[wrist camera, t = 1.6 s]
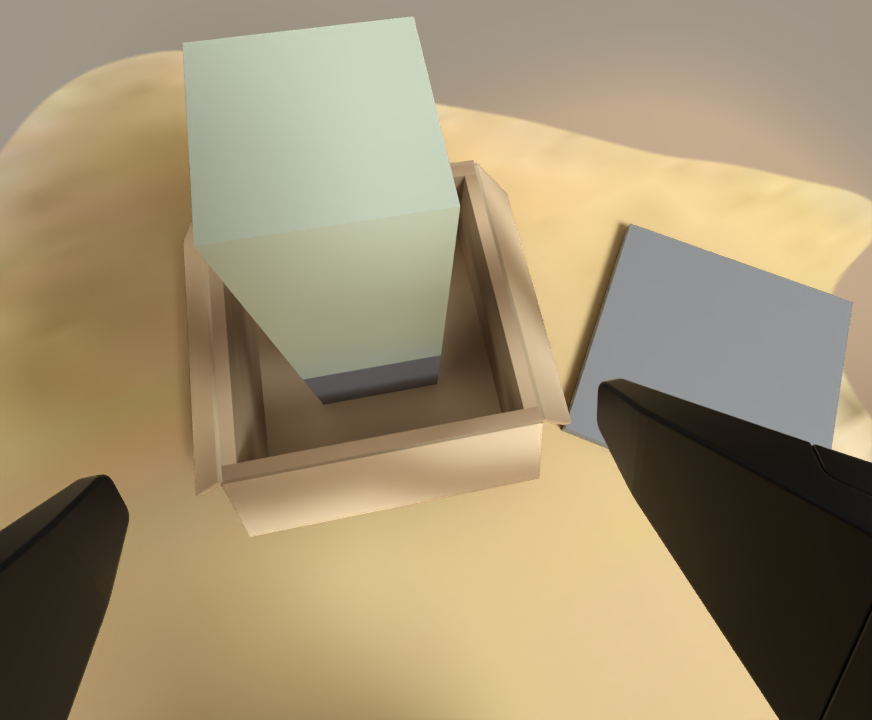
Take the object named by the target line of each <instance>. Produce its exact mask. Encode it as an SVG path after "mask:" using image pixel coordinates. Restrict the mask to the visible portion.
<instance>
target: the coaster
mask: <svg viewBox="0 0 872 720" xmlns="http://www.w3.org/2000/svg"><path fill="white" fill-rule="evenodd" d="M852 304H853V302H851V301H848V300H845V299H842V298H839V297H837V296H834V295H831V294H828V293H825V292H823V291H820V290H817V289H814V288H811V287H808V286H806V285H803V284H800V283H797V282H794V281H791V280H789V279H786V278H783V277H780V276H777V275H774V274H772V273H769V272H766V271H763V270H760V269H757V268H755V267H752V266H749V265H746V264H743V263H740V262H738V261H735V260H732V259H729V258H726V257H724V256H721V255H718V254H715V253H712V252H709V251H707V250H704V249H701V248H698V247H695V246H692V245H690V244H687V243H684V242H681V241H678V240H675V239H673V238H670V237H667V236H664V235H661V234H658V233H656V232H653V231H650V230H647V229H644V228H641V227H639V226H636V225H633V224H630V226H629V227H628V228H627V230H626V232H625V235H624V238H623V241H622V244H621V248H620V251H619V254H618V257H617V260H616V263H615V266H614V269H613V272H612V275H611V279H610V282H609V285H608V288H607V291H606V294H605V297H604V300H603V303H602V306H601V310H600V313H599V316H598V319H597V322H596V325H595V328H594V331H593V334H592V337H591V340H590V344H589V347H588V350H587V353H586V356H585V359H584V362H583V365H582V368H581V371H580V375H579V378H578V381H577V384H576V387H575V390H574V393H573V396H572V399H571V402H570V406H569V409H568V412H569V415H570V419H571V422H572V423H570V424H566V425H563V427H562V431H565V432H567V433H570V434H572V435H575V436H578V437H580V438H583V439H585V440H588V441H590V442H593V443H595V444H598V445H600V446H603V447H605V448H608V446H607V444H606V442H605V440H604V438H603V436H602V434H601V432H600V430H599V428H598V424H597V397H598V387H599V384H600V383H601V382H603V381H607V380H612V379H618V378H622V379H625V380H628V381H631V382H634V383H637V384H640V385H643V386H646V387H649V388H652V389H655V390H658V391H661V392H664V393H666V394H669V395H672V396H675V397H678V398H681V399H684V400H687V401H690V402H693V403H696V404H699V405H702V406H705V407H708V408H711V409H714V410H716V411H719V412H722V413H725V414H728V415H731V416H734V417H737V418H740V419H743V420H746V421H749V422H752V423H755V424H758V425H761V426H764V427H766V428H769V429H772V430H775V431H778V432H781V433H784V434H787V435H790V436H793V437H796V438H799V439H802V440H805V441H808V442H810V443H811V445H814V444H817V445H820V446H823V447H826V448H829V449H831V448H832V441H833V434H834V427H835V420H836V414H837V407H838V400H839V393H840V386H841V379H842V372H843V366H844V359H845V352H846V345H847V338H848V331H849V324H850V317H851V310H852ZM608 449H609V448H608Z"/></svg>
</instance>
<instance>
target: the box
mask: <svg viewBox="0 0 872 720" xmlns="http://www.w3.org/2000/svg"><path fill="white" fill-rule="evenodd" d="M183 58H184V76H185V94H186V112H187V130H188V148H189V166H190V184H191V202H192V220H193V238H194V247H195V248H196V249H197V251H198V252H199V253H200V254H201V255H202V257H203V258H204V259H205V260H206V262H207V263H208V264H209V265H210V266H211V268H212V269H213V270H214V271H215V273H216V274H217V275H218V276H219V277H220V279H221V280H222V281H223V282H224V284H225V285H226V286H227V287H228V288H229V290H230V291H231V292H232V293H233V295H234V296H235V297H236V298H237V299H238V301H239V302H240V303H241V304H242V306H243V307H244V308H245V309H246V310H247V312H248V313H249V314H250V315H251V317H252V318H253V319H254V320H255V322H256V323H257V324H258V325H259V326H260V328H261V329H262V330H263V331H264V333H265V334H266V335H267V336H268V337H269V339H270V340H271V341H272V342H273V344H274V345H275V346H276V347H277V348H278V350H279V351H280V352H281V353H282V355H283V356H284V357H285V358H286V359H287V361H288V362H289V363H290V364H291V366H292V367H293V368H294V369H295V370H296V372H297V373H298V374H299V375H300V377H301V378H302V379H303V380H304V381H305V383H306V384H307V385H308V386H309V388H310V389H311V390H312V391H313V393H314V394H315V395H316V396H317V397H318V399H319V400H320V401H321V402H322V404H323V405H325V404H330V403H336V402H341V401H347V400H352V399H358V398H363V397H369V396H374V395H380V394H385V393H391V392H396V391H402V390H407V389H413V388H418V387H424V386H429V385H435V384H437V381H438V374H439V366H440V358H441V351H442V343H443V335H444V327H445V320H446V312H447V304H448V297H449V289H450V281H451V274H452V266H453V258H454V251H455V243H456V235H457V228H458V220H459V212H460V203H459V199H458V195H457V191H456V187H455V183H454V179H453V175H452V171H451V167H450V163H449V158H448V154H447V150H446V146H445V142H444V138H443V134H442V130H441V126H440V122H439V118H438V114H437V110H436V106H435V101H434V97H433V93H432V89H431V85H430V81H429V77H428V73H427V69H426V65H425V61H424V57H423V53H422V49H421V45H420V40H419V36H418V32H417V28H416V24H415V20H414V17H405V18H396V19H388V20H378V21H370V22H361V23H353V24H343V25H334V26H326V27H317V28H308V29H300V30H291V31H282V32H273V33H265V34H255V35H246V36H238V37H229V38H220V39H213V40H212V39H211V40H202V41H194V42H186V43H183Z"/></svg>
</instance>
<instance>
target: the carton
mask: <svg viewBox="0 0 872 720" xmlns="http://www.w3.org/2000/svg"><path fill="white" fill-rule="evenodd" d="M450 167H451V171H452V175H453V179H454V183H455V187H456V191H457V195H458V199H459V203H460V212H459V220H458V228H457V235H456V243H455V251H454V258H453V266H452V274H451V281H450V289H449V297H448V304H447V312H446V320H445V327H444V335H443V343H442V351H441V358H440V366H439V374H438V381H437V384H435V385H429V386H424V387H418V388H413V389H407V390H402V391H396V392H391V393H385V394H380V395H374V396H369V397H363V398H358V399H352V400H347V401H341V402H336V403H330V404H325V405H323V404H322V402H321V401H320V400H319V399H318V397H317V396H316V395H315V394H314V393H313V391H312V390H311V389H310V388H309V386H308V385H307V384H306V383H305V381H304V380H303V379H302V378H301V377H300V375H299V374H298V373H297V372H296V370H295V369H294V368H293V367H292V366H291V364H290V363H289V362H288V361H287V359H286V358H285V357H284V356H283V355H282V353H281V352H280V351H279V350H278V348H277V347H276V346H275V345H274V344H273V342H272V341H271V340H270V339H269V337H268V336H267V335H266V334H265V333H264V331H263V330H262V329H261V328H260V326H259V325H258V324H257V323H256V322H255V320H254V319H253V318H252V317H251V315H250V314H249V313H248V312H247V310H246V309H245V308H244V307H243V306H242V304H241V303H240V302H239V301H238V299H237V298H236V297H235V296H234V295H233V293H232V292H231V291H230V290H229V288H228V287H227V286H226V285H225V284H224V282H223V281H222V280H221V279H220V277H219V276H218V275H217V274H216V273H215V271H214V270H213V269H212V268H211V266H210V265H209V264H208V263H207V262H206V260H205V259H204V258H203V257H202V255H201V254H200V253H199V252H198V251H197V249H196V248H195V247H194V238H193V220H192V222H191V225H190V227H189V229H188V232H187V234H186V237H185V239H184V261H185V282H186V303H187V323H188V344H189V364H190V385H191V406H192V426H193V447H194V467H195V488H196V496H198V495H205V494H206V493H208V492H210V491H211V490H213V489H214V488H216V487H218V486H219V485H221V484H222V486H223V488H224V490H225V492H226V494H227V496H228V497H229V499H230V501H231V503H232V505H233V507H234V509H235V510H236V512H237V514H238V516H239V518H240V520H241V521H242V523H243V525H244V527H245V529H246V531H247V532H248V534H249V536H250V537H252V536H257V535H262V534H267V533H272V532H277V531H282V530H287V529H292V528H297V527H302V526H306V525H311V524H316V523H321V522H326V521H331V520H336V519H341V518H346V517H351V516H356V515H361V514H366V513H371V512H376V511H381V510H385V509H390V508H395V507H400V506H405V505H410V504H415V503H420V502H425V501H430V500H435V499H440V498H445V497H450V496H455V495H459V494H464V493H469V492H474V491H479V490H484V489H489V488H494V487H499V486H504V485H509V484H514V483H519V482H524V481H529V480H534V479H538V478H539V472H540V457H541V441H542V426H543V423H542V422H547V423H554V424H561V425H566V424H570V423H572V422H571V419H570V415H569V412H568V408H567V404H566V401H565V397H564V394H563V390H562V387H561V383H560V380H559V376H558V372H557V369H556V365H555V362H554V358H553V355H552V351H551V348H550V344H549V341H548V337H547V333H546V330H545V326H544V323H543V319H542V316H541V312H540V309H539V305H538V301H537V298H536V294H535V291H534V287H533V284H532V280H531V277H530V273H529V269H528V266H527V262H526V259H525V255H524V252H523V248H522V245H521V241H520V237H519V234H518V230H517V227H516V223H515V220H514V216H513V213H512V209H511V206H510V202H509V198H508V195H507V193H506V192H505V191H504V190H503V189H502V188H501V187H500V186H499V184H498V183H497V182H496V181H495V180H494V179H493V178H492V177H491V176H490V175H489V174H488V173H487V172H486V171H485V170H484V169H483V168H482V167H481V166H480V165H479V164H478V163H477V162H476V163H475V164H474V161H473V160H471V161H464V162H457V163H450Z"/></svg>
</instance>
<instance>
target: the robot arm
mask: <svg viewBox="0 0 872 720" xmlns="http://www.w3.org/2000/svg"><path fill="white" fill-rule="evenodd" d="M597 424H598V428H599V430H600V432H601V434H602V436H603V438H604V440H605V442H606V444H607V446H608V448H609V450H610V452H611V454H612V456H613V458H614V460H615V462H616V464H617V466H618V468H619V470H620V472H621V474H622V476H623V478H624V480H625V482H626V484H627V486H628V488H629V490H630V492H631V493H632V495H633V497H634V498H635V500H636V502H637V503H638V505H639V506H640V508H641V509H642V511H643V513H644V514H645V516H646V517H647V519H648V520H649V522H650V523H651V525H652V526H653V528H654V529H655V531H656V532H657V534H658V535H659V537H660V538H661V540H662V542H663V543H664V545H665V546H666V548H667V549H668V551H669V552H670V554H671V555H672V557H673V558H674V560H675V561H676V563H677V564H678V566H679V567H680V569H681V571H682V572H683V574H684V575H685V577H686V578H687V580H688V581H689V583H690V584H691V586H692V587H693V589H694V590H695V592H696V593H697V595H698V596H699V598H700V599H701V601H702V603H703V604H704V606H705V607H706V609H707V610H708V612H709V613H710V615H711V616H712V618H713V619H714V621H715V622H716V624H717V625H718V627H719V628H720V630H721V632H722V633H723V635H724V636H725V638H726V639H727V641H728V642H729V644H730V645H731V647H732V648H733V650H734V651H735V653H736V654H737V656H738V657H739V659H740V661H741V662H742V664H743V665H744V667H745V668H746V670H747V671H748V673H749V674H750V676H751V677H752V679H753V680H754V682H755V683H756V685H757V686H758V688H759V689H760V691H761V693H762V694H763V696H764V697H765V699H766V700H767V702H768V703H769V705H770V706H771V708H772V709H773V711H774V712H775V714H776V715H777V717H778V718H779V720H872V463H871V462H868V461H865V460H862V459H859V458H856V457H852V456H849V455H846V454H843V453H840V452H837V451H834V450H831V449H829V448H826V447H823V446H820V445H817V444H814V445H811V443H810V442H808V441H805V440H802V439H799V438H796V437H793V436H790V435H787V434H784V433H781V432H778V431H775V430H772V429H769V428H766V427H764V426H761V425H758V424H755V423H752V422H749V421H746V420H743V419H740V418H737V417H734V416H731V415H728V414H725V413H722V412H719V411H716V410H714V409H711V408H708V407H705V406H702V405H699V404H696V403H693V402H690V401H687V400H684V399H681V398H678V397H675V396H672V395H669V394H666V393H664V392H661V391H658V390H655V389H652V388H649V387H646V386H643V385H640V384H637V383H634V382H631V381H628V380H625V379H622V378H618V379H612V380H607V381H603V382H601V383H600V384H599V387H598V397H597ZM128 523H129V513H128V509H127V507H126V505H125V503H124V501H123V499H122V497H121V496H120V494H119V492H118V490H117V488H116V486H115V484H114V483H113V481H112V479H111V478H110V477H109V476H107V475H96V476H91V477H85V478H81V479H79V480H77V481H75V482H74V483H72V484H71V485H69V486H68V487H66V488H65V489H63V490H62V491H60V492H59V493H57V494H56V495H54V496H53V497H51V498H49V499H48V500H46V501H45V502H43V503H42V504H40V505H39V506H37V507H36V508H34V509H33V510H31V511H30V512H28V513H27V514H25V515H24V516H22V517H21V518H19V519H18V520H16V521H15V522H13V523H12V524H10V525H9V526H7V527H6V528H4V529H2V530H1V531H0V720H67V719H68V716H69V714H70V711H71V708H72V705H73V702H74V700H75V697H76V694H77V691H78V689H79V686H80V683H81V680H82V677H83V675H84V672H85V669H86V666H87V664H88V661H89V658H90V655H91V652H92V650H93V647H94V644H95V641H96V638H97V636H98V633H99V630H100V627H101V625H102V622H103V619H104V616H105V613H106V610H107V607H108V604H109V600H110V597H111V593H112V590H113V585H114V581H115V577H116V573H117V569H118V565H119V561H120V556H121V552H122V548H123V544H124V540H125V536H126V532H127V527H128Z"/></svg>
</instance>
